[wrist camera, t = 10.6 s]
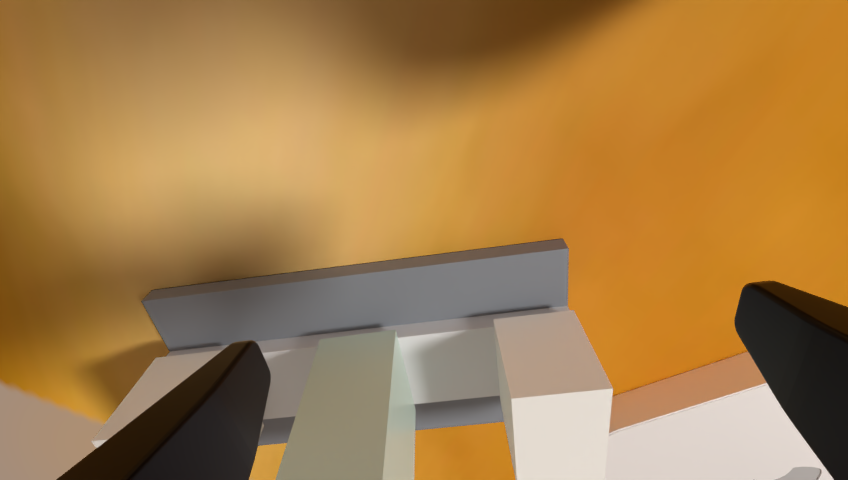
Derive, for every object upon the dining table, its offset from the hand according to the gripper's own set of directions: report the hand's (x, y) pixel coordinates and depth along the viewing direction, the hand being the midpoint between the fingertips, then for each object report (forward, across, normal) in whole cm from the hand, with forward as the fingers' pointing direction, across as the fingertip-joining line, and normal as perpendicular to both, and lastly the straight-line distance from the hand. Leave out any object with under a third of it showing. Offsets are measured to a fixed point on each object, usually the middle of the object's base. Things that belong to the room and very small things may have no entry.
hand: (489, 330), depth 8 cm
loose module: (+11, +6, +12) cm, 17 cm away
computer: (+13, -18, +26) cm, 34 cm away
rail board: (+13, +6, +12) cm, 18 cm away
